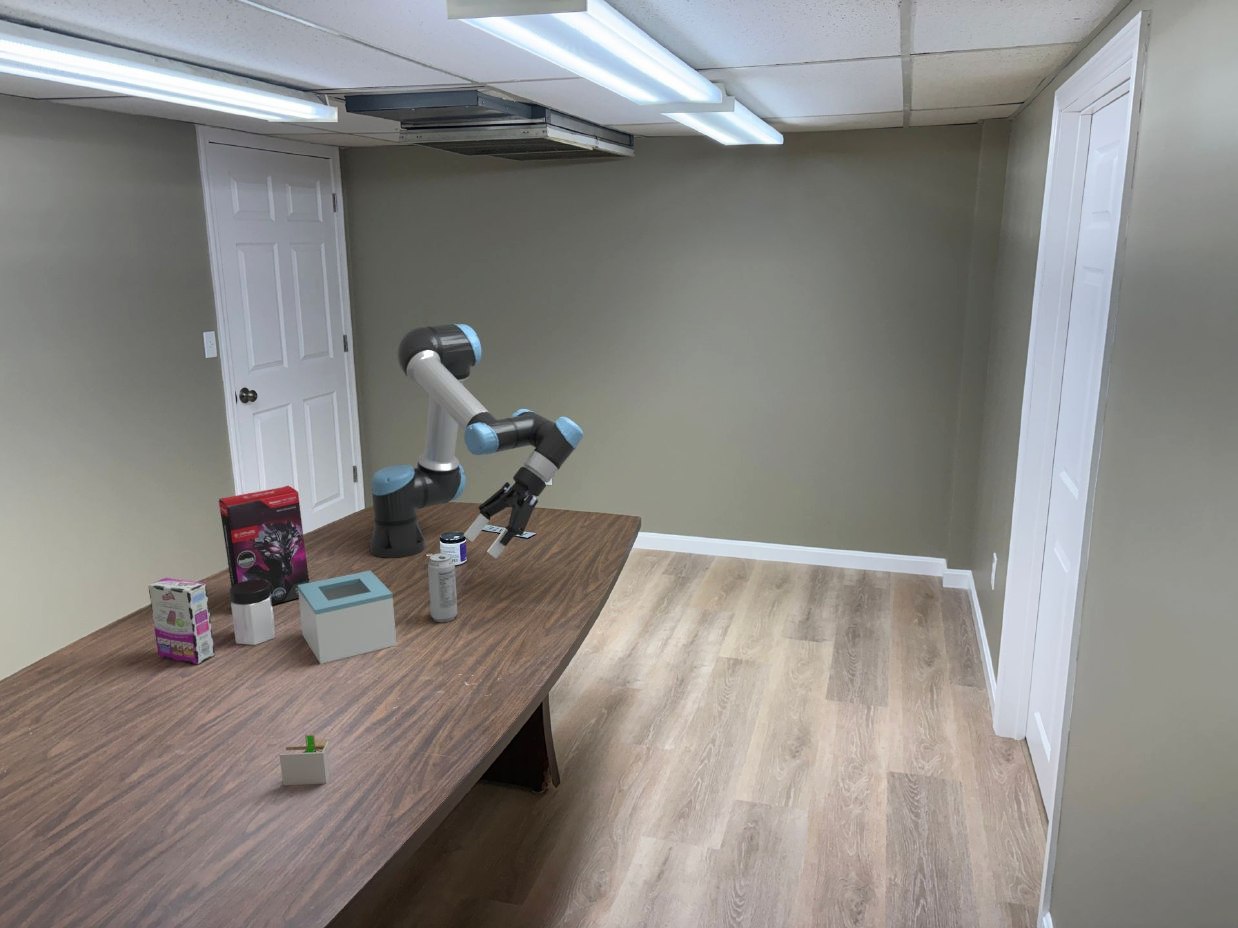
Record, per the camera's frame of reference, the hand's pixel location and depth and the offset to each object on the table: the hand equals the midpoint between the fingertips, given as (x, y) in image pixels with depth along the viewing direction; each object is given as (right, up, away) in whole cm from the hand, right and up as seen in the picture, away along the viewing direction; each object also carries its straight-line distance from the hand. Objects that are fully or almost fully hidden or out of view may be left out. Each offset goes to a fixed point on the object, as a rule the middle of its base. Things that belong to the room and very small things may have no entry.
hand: (479, 546), depth 203 cm
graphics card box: (-52, -14, +10) cm, 55 cm away
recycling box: (-27, -19, -12) cm, 35 cm away
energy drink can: (-8, -17, 0) cm, 18 cm away
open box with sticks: (-18, -33, -61) cm, 72 cm away
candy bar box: (-59, -22, -18) cm, 65 cm away
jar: (-48, -19, -10) cm, 53 cm away
